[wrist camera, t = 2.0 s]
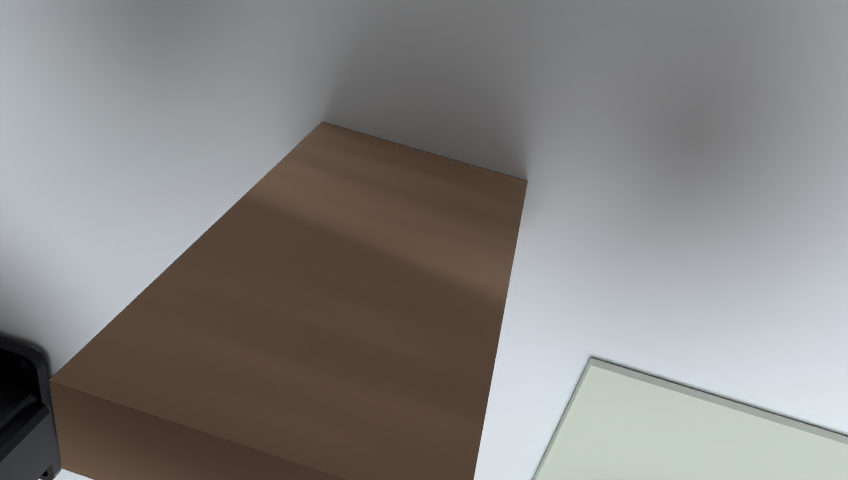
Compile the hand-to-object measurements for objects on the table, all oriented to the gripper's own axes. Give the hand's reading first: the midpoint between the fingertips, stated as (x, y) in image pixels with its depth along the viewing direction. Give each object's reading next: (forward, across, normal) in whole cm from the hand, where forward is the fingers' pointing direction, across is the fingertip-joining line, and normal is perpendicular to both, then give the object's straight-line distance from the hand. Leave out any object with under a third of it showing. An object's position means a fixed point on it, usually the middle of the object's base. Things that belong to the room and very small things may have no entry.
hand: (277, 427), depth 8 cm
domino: (+8, 0, 0) cm, 8 cm away
